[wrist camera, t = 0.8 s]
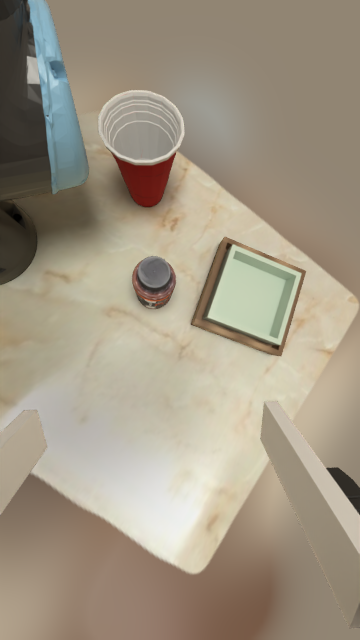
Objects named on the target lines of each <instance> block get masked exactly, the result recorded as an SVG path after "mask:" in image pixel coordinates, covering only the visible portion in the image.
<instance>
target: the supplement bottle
mask: <svg viewBox="0 0 360 640" xmlns="http://www.w3.org/2000/svg"><path fill="white" fill-rule="evenodd" d="M132 282H133V286H134V289H135V292H136V294H137V297H138V299H139V301H140V302H141V303H142V304H143V305H144V306H146V307H148V308H152V309H156V308H160V307H162V306H164V305H165V304H166V303H167V302H168V301H169V299H170V297H171V295H172V292H173V290H174V287H175V284H176V276H175V272H174V270H173V268H172V267H171V265H170V264H169V263H167V262H166V261H165V260H164V259H162V258H160V257H157V256H151V257H147V258H145V259H144V260H142V261H141V262H139V263H138V264H137V266H136V267H135V269H134V271H133V275H132Z"/></svg>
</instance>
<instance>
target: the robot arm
mask: <svg viewBox="0 0 360 640" xmlns="http://www.w3.org/2000/svg"><path fill="white" fill-rule="evenodd" d="M88 174H89V166H88V161H87V156H86V152H85V147H84V143H83V139H82V134H81V130H80V126H79V122H78V118H77V114H76V110H75V106H74V102H73V98H72V94H71V90H70V86H69V83H68V79H67V74H66V70H65V66H64V62H63V58H62V54H61V49H60V45H59V41H58V37H57V33H56V30H55V26H54V22H53V18H52V15H51V12H50V9H49V6H48V4H47V2H46V1H45V0H0V284H3V283H6V282H8V281H11V280H12V279H14V278H16V277H17V276H19V275H20V274H21V273H22V272H23V271H24V270H25V269H26V268H27V267H28V266H29V264H30V263H31V261H32V259H33V257H34V255H35V252H36V247H37V235H36V231H35V227H34V225H33V223H32V221H31V219H30V218H29V217H28V215H27V214H26V213H25V212H24V211H23V210H22V209H21V208H20V207H19V206H18V205H17V204H16V203H15V202H13V201H12V199H18V198H23V197H28V196H33V195H38V194H43V193H48V192H51V193H52V194H56V193H57V192H58V191H59V190H63V189H67V188H72V187H76V186H79V185H81V184H83V183H84V182H85V181H86V180H87V177H88ZM260 439H261V442H262V444H263V446H264V448H265V450H266V452H267V454H268V456H269V459H270V461H271V462H272V465H273V467H274V469H275V471H276V473H277V476H278V478H279V480H280V482H281V484H282V486H283V488H284V490H285V492H286V495H287V497H288V499H289V501H290V503H291V505H292V507H293V510H294V511H295V514H296V516H297V518H298V520H299V522H300V524H301V526H302V529H303V531H304V533H305V535H306V537H307V539H308V541H309V544H310V545H311V548H312V550H313V552H314V554H315V556H316V559H317V561H318V563H319V565H320V567H321V569H322V571H323V573H324V576H325V578H326V580H327V582H328V584H329V586H330V588H331V591H332V592H333V595H334V597H335V599H336V601H337V603H338V605H339V607H340V610H341V612H342V614H343V616H344V618H345V620H346V622H347V624H348V626H349V628H360V488H359V487H358V485H357V484H356V483H355V482H354V481H353V479H351V478H350V477H349V476H348V475H346V474H345V473H344V472H343V471H342V470H340V469H339V468H325V466H324V465H323V464H322V462H321V461H320V460H319V458H318V457H317V455H316V454H315V453H314V451H313V450H312V448H311V447H310V446H309V444H308V443H307V442H306V440H305V439H304V437H303V436H302V435H301V433H300V432H299V430H298V429H297V428H296V426H295V425H294V423H293V422H292V421H291V419H290V418H289V416H288V415H287V414H286V412H285V411H284V409H283V408H282V407H281V405H280V404H279V403H278V401H264V408H263V418H262V428H261V437H260ZM46 449H47V444H46V440H45V437H44V433H43V430H42V426H41V422H40V419H39V415H38V412H37V410H24V411H23V412H22V413H21V414H20V415H18V416H17V417H16V418H15V419H14V420H13V421H12V422H11V423H10V424H9V425H8V426H7V427H6V428H5V429H4V430H3V431H2V432H1V433H0V515H1V513H2V512H3V510H4V509H5V508H6V506H7V505H8V503H9V502H10V500H11V499H12V498H13V496H14V494H15V493H16V492H17V490H18V489H19V488H20V486H21V485H22V483H23V482H24V480H25V479H26V477H27V476H28V474H29V473H30V472H31V470H32V469H33V467H34V466H35V465H36V463H37V462H38V460H39V459H40V457H41V456H42V454H43V453H44V452H45V450H46Z"/></svg>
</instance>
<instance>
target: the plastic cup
mask: <svg viewBox="0 0 360 640" xmlns="http://www.w3.org/2000/svg"><path fill="white" fill-rule="evenodd" d="M98 132H99V134H100V136H101V138H102V140H103V142H104V144H105V146H106V148H107V149H108V150H109V151H110V152H111V153H112V154H113V156H114V158H115V160H116V162H117V164H118V167H119V169H120V171H121V174H122V176H123V178H124V181H125V183H126V185H127V187H128V189H129V192H130V194H131V196H132V198H133V199H134V201H135V202H136V203H138V204H139V205H141V206H144V207H152V206H154V205H156V204H157V203H159V202H160V200H161V198H162V196H163V193H164V190H165V187H166V184H167V181H168V178H169V174H170V170H171V167H172V163H173V160H174V158H175V155H176V151H178V149H179V146H180V144H181V142H182V139H183V136H184V121H183V118H182V116H181V115H180V113H179V111H178V109H177V107H176V106H175V105H174V104H172V103H171V102H170V101H169V100H167V99H166V98H165V97H164V96H161V95H159V94H156V93H153V92H150V91H143V90H130V91H127V92H124V93H121V94H117V95H116V96H114V97H113V98H112V99H110V101H108V102H107V103H105V104H104V106H103V108H102V110H101V112H100V114H99V116H98Z"/></svg>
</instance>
